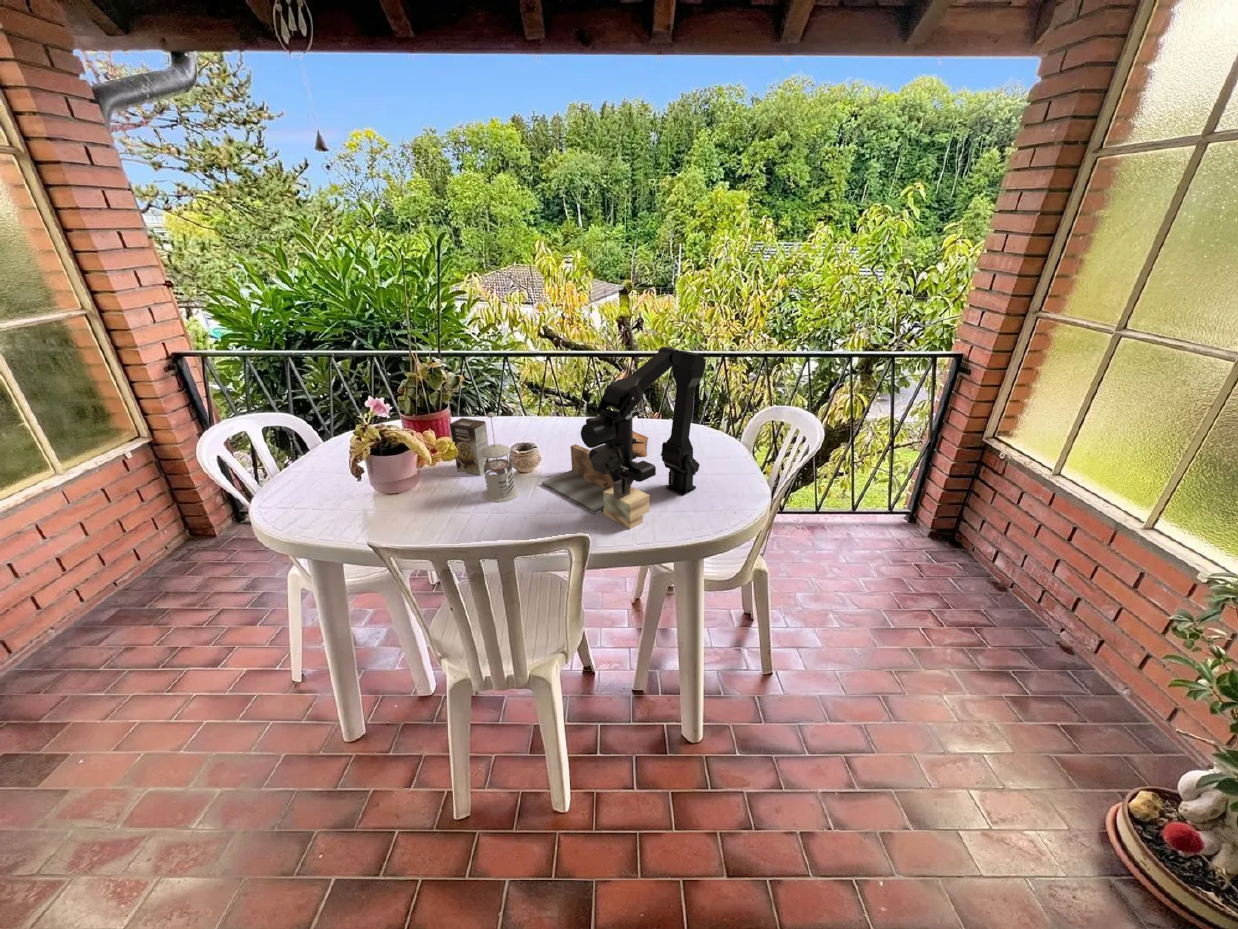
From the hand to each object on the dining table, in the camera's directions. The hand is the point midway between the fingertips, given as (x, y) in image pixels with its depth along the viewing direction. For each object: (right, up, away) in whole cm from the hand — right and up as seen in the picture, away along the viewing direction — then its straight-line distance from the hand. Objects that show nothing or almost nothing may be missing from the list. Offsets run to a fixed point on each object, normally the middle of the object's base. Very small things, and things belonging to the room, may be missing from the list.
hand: (621, 492), depth 133 cm
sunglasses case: (+5, +13, +47) cm, 48 cm away
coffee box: (-47, +5, +32) cm, 57 cm away
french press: (-34, -1, +18) cm, 39 cm away
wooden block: (+1, -7, +4) cm, 8 cm away
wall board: (-10, 0, +18) cm, 21 cm away
